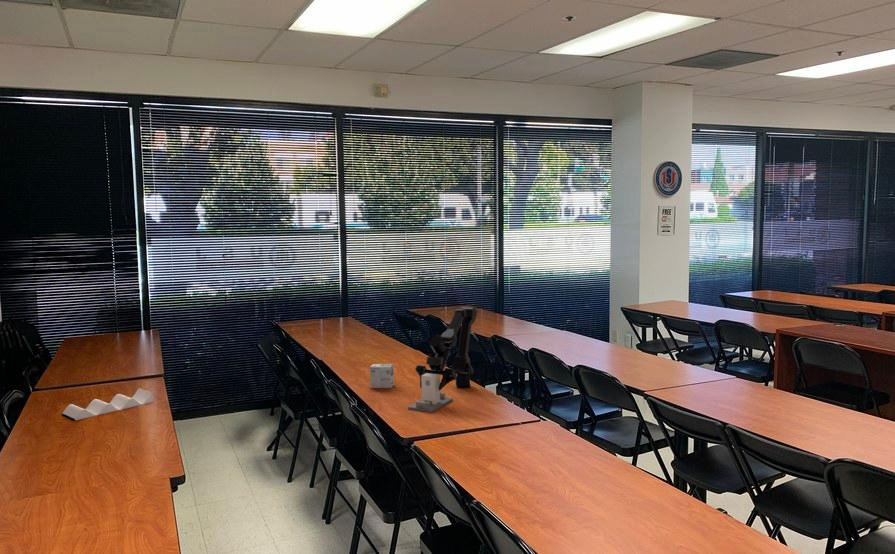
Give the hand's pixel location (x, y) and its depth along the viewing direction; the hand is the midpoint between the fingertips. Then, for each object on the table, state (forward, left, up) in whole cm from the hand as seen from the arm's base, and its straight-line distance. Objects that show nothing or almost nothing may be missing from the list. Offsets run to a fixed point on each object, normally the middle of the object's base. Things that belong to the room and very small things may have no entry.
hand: (429, 388), depth 298 cm
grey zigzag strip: (+144, -10, -8) cm, 145 cm away
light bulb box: (+23, -34, -8) cm, 42 cm away
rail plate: (0, 0, -7) cm, 7 cm away
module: (0, -1, -6) cm, 6 cm away
